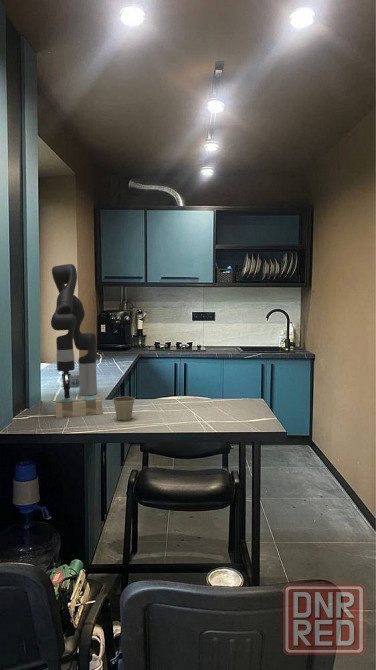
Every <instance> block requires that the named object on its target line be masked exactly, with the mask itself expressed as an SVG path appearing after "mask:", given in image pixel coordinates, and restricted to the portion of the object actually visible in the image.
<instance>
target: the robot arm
mask: <svg viewBox="0 0 376 670" xmlns="http://www.w3.org/2000/svg"><path fill="white" fill-rule="evenodd" d="M77 271H78V270H77V268H76V266H75V265H74V264H73V263H67V264H66V263H65V264H61V265H55V266H52V269H51V275H52V278H53V281H54V282H53V283H54V284H55V286H56V288H57V291H58V295H57V298H56V308H55V310H54V313H53V315H52V316H51V319H50V325H51V328H52V329H53V330H55V331H67V333H66V334H64V335H59V336H57V337H56V355H55V357H56V370H57V371H58V372H62V373H63V374H62V373H61V379H62V380H61V381H62V386H63V390H64V391H63V392H64V399H71V395H70V394H71V393H70V391H71V387H70V385H71V380H70V379H71V374H69V372H73V371H74V370H75V369H76V368H75V367H76V365H75V351H74V346H75V348H76V349H77V351H87V354H85V355H83V356H80V357H78V371H79V396H87V397H88V396H95V395H97V394H98V384H97V383H98V382H97V381H98V380H97V379H98V378H97V338H96V335H95V334H94V333H93V332H87V333H86V332H81V329H80V328H81V326H82V323H83V321H84V319H85V315H86V314H85V313H86V312H85V309H84V305H83V303H82V301H81V299H80V298H78V297H77V296H76V295H75V290H76V286H77V282H78V273H77Z"/></svg>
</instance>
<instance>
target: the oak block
mask: <svg viewBox="0 0 376 670" xmlns="http://www.w3.org/2000/svg"><path fill="white" fill-rule="evenodd" d="M54 404H55V405H54V406H55V418H56V419H62V418H71V417H72V418H73V417H81V416H82V417H83V416H93V415H94V416H95V414H97V415H103V414H104V413H103V411H104V410H103V400H102V397H96V400H95V401H84V398H80V399H79V398H78V399H73V402H71V403H61V400H55V403H54Z"/></svg>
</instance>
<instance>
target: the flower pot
mask: <svg viewBox="0 0 376 670" xmlns="http://www.w3.org/2000/svg"><path fill="white" fill-rule="evenodd" d="M135 400H136V398H135V397H132V396H119V397H114V398H112V402H113V405H114V410H115V416H116V420H118V421H129V420H131V419H132V417H133V409H134V408H133V407H134V403H135Z"/></svg>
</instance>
